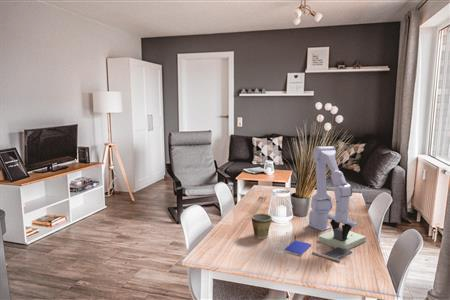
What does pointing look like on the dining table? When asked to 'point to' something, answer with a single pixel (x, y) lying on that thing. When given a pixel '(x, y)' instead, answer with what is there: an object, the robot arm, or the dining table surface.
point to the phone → (338, 252)
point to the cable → (326, 256)
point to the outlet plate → (350, 241)
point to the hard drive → (297, 248)
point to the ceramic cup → (261, 225)
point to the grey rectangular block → (338, 234)
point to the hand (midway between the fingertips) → (340, 237)
